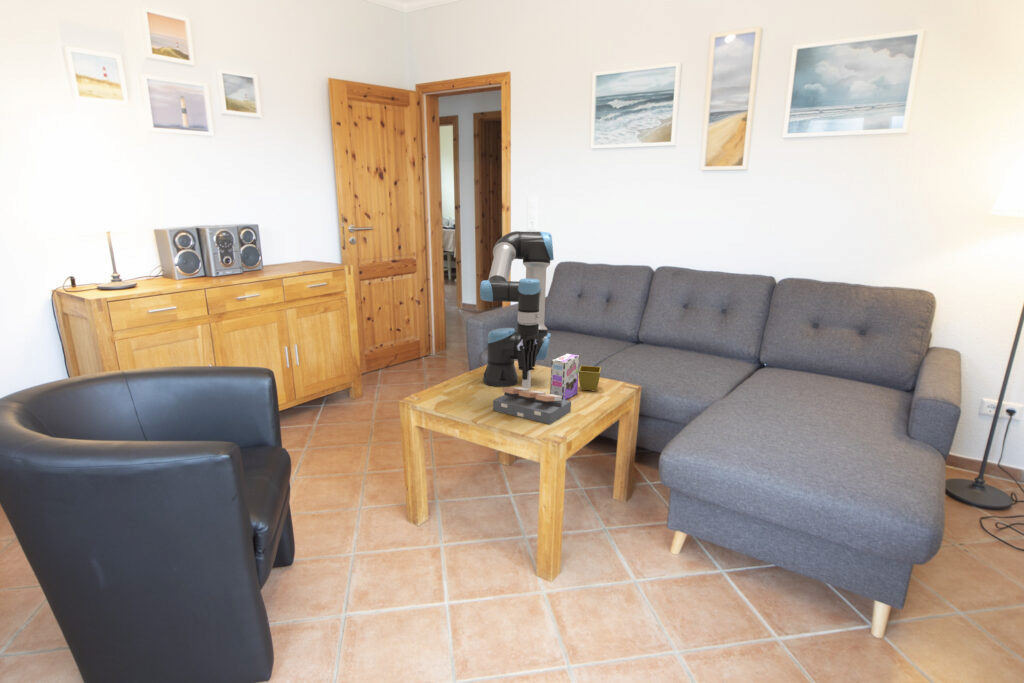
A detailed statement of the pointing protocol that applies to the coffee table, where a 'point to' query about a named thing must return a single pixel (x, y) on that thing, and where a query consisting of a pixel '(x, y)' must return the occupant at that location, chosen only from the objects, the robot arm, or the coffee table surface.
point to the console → (531, 407)
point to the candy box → (565, 376)
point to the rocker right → (548, 397)
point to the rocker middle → (530, 393)
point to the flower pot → (589, 377)
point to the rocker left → (514, 390)
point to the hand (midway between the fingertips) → (526, 387)
